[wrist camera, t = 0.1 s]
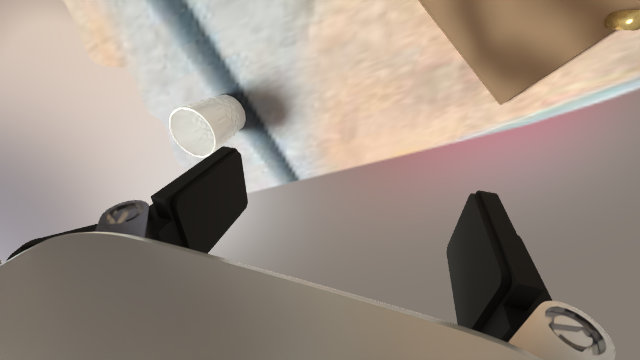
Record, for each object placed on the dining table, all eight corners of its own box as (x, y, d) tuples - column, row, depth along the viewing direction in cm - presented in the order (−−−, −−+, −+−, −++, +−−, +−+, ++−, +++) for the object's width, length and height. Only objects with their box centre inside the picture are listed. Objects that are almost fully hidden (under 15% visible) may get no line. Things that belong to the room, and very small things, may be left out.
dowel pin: (620, 6, 26) (646, 5, 23) (627, 19, 26) (654, 19, 24) (600, 20, 27) (622, 20, 24) (608, 32, 27) (631, 34, 24)
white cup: (219, 135, 50) (183, 158, 42) (203, 93, 46) (159, 110, 38) (254, 132, 48) (223, 156, 39) (240, 87, 44) (202, 104, 36)
